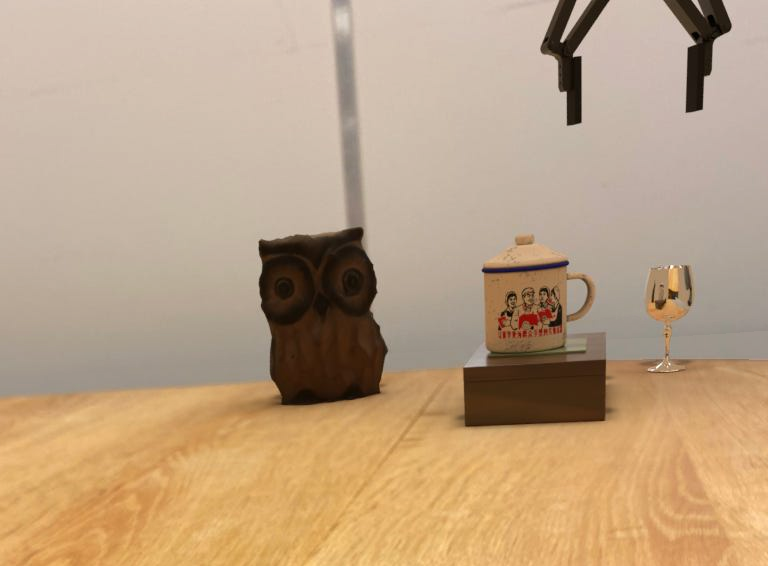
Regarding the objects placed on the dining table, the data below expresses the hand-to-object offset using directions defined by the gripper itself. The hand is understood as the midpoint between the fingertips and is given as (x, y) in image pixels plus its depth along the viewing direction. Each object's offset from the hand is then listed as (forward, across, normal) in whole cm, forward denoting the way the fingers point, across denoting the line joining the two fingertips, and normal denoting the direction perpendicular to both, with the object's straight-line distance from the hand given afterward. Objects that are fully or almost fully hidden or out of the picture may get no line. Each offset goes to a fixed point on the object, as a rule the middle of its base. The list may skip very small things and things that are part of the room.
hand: (634, 118), depth 117 cm
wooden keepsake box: (+28, -14, -9) cm, 33 cm away
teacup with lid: (+22, -14, -9) cm, 28 cm away
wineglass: (+29, +6, +4) cm, 29 cm away
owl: (+28, -35, +13) cm, 47 cm away
